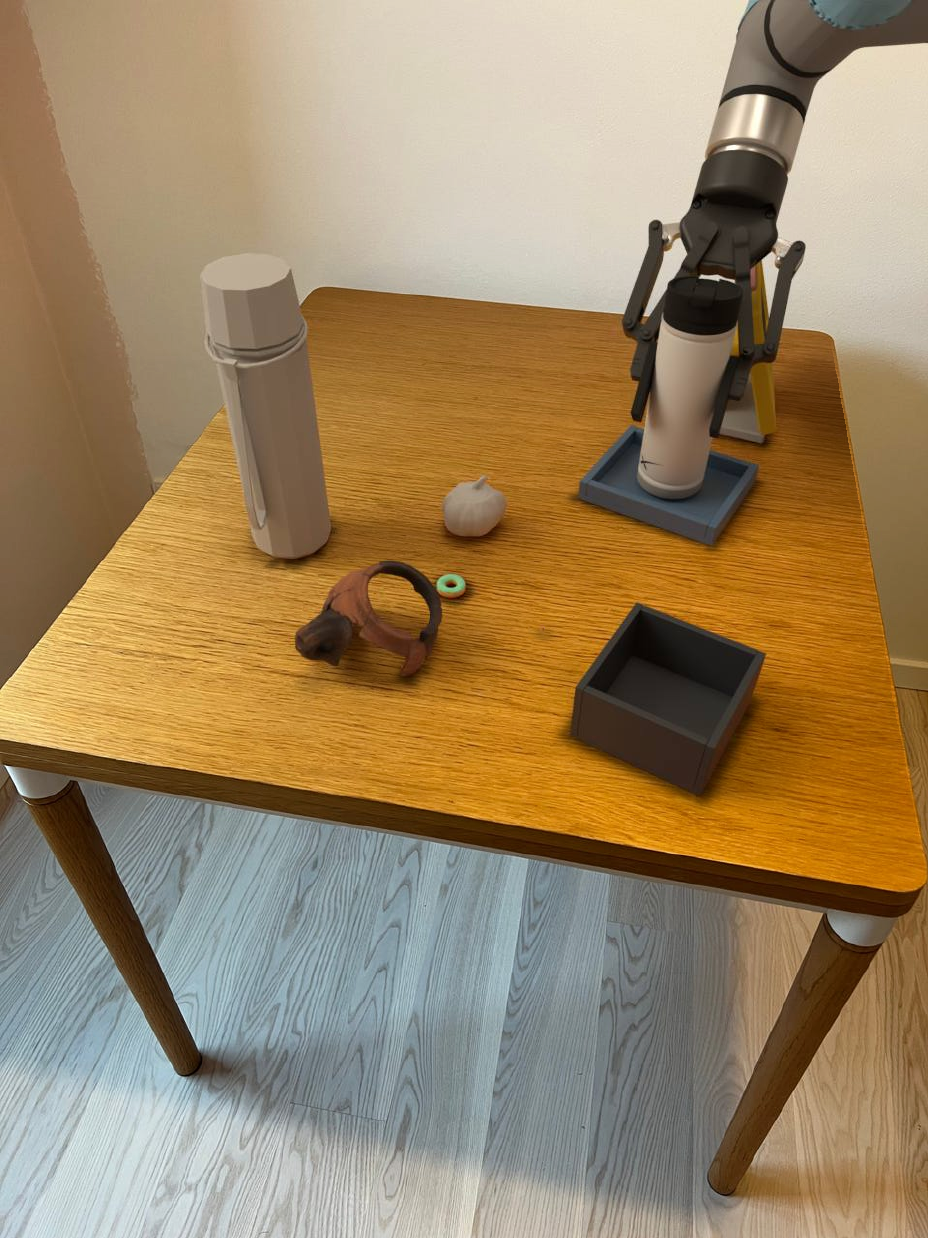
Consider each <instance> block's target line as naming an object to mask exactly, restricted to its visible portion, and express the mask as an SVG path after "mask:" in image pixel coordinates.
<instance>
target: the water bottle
mask: <svg viewBox="0 0 928 1238" xmlns="http://www.w3.org/2000/svg"><path fill="white" fill-rule="evenodd" d="M199 277H200V287H201V297H202V305H203V314H204V315H203V316H204V325H205V331H206V333H205V337H204V340H203V341H204V343H203V344H204V346H205V347H204V348H205V350H206V353H207V354H208V356H210V358H211V359H212V360H213V361H214V362H215V365H216V370H217V374H218V379H219V383H220V389H221V393H222V398H223V403H224V408H225V412H226V416H227V422H228V426H229V431H230V436H231V441H232V446H233V450H234V455H235V460H236V465H237V470H238V474H239V479H240V485H241V489H242V494H243V499H244V505H245V510H246V513H247V517H248V522H249V527H250V531H251V537H252V539H253V541H254V543H255V545H256V547H257V549H258V550H259V551H261V552H263V553H264V554H267V555H270V556H271V557H274V558H276V559H289V560H296V559H300V558H303V557H307V556H309V555H310V556H311V555H313V554H314V553H315V552H317V551H318V550H320V548H322V547H323V546H324V545H325V544H326V543H328V540H329V537H330V534H331V531H332V523H331V514H330V508H329V501H328V500H329V499H328V492H327V486H326V485H327V483H326V477H325V470H324V462H323V455H322V447H321V439H320V432H319V425H318V424H319V423H318V416H317V408H316V401H315V394H314V385H313V378H312V370H311V365H310V364H311V363H310V355H309V348H308V341H307V336H308V330H309V326H308V324H307V321H306V319H305V317H304V316H303V313H302V309H301V305H300V301H299V297H298V293H297V289H296V284H295V281H294V276H293V271H292V268H291V266H290V265H289V263H288V262H287V260H285V258H282V257H279V256H276V255H272V254H270V253H253V252H252V253H251V252H245V253H240V254H233V255H228V256H227V255H226V256H222V257H220V258H219V259H217V260H215V261H211V262H210V263H208V264H206V265H205V267H204V268H203V270H201V272H200V274H199ZM210 340H211V342H212V348H211V344H210Z"/></svg>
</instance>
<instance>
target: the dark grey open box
mask: <svg viewBox="0 0 928 1238" xmlns="http://www.w3.org/2000/svg"><path fill="white" fill-rule="evenodd" d="M766 656H767V653H766V652H764V651H761V650H758V649H756V648H753V647H751V646H748V645H746V644H743V643H741V642H738V641H737V640H733V639H730V638H729V637H726V636H723V635H721V634H718V633H716V632H713V631H711V630H708V629H706V628H703V627H701V626H698V625H695V624H693V623H690V622H688V621H684V619H683V620H682V619H680V618H677V617H675V616H672V615H669V614H667V613H664V612H662V611H660V610H657V609H654V608H652V607H650V606H647V605H644V604H642V603H639V602H636V603H635V604H634V605H633V607H632V608H631V609H630V611H629V612H628V614H627V615H626V616H625V618H624V619H623V621H622V622H621V623H620V624H619V626H618V627H617V629H616V630H615V632H614V633H613V635H612V636H611V637H610V638H609V640H608V641H607V642H606V644H605V645H604V646H603V648H602V650H601V651H600V652H599V654H598V655H597V657H595V659H594V661H593V662H592V663H591V664H590V666H589V668H588V669H587V670H586V672H584V674H583V676H582V677H581V679H580V680H579V682H578V683H577V684H576V686H575V690H574V698H573V705H572V714H571V722H570V730H569V736H570V737H572V738H574V739H576V740H579V741H581V742H582V743H585V744H586V745H589V746H591V747H594V748H595V749H597V750H599V751H602V752H604V753H606V754H607V755H611V756H612V757H614V758H617V759H619V760H621V761H623V762H625V763H626V764H630V765H632V766H634V767H636V768H638V769H641V770H642V771H643V772H647V773H649V774H651V775H653V776H655V777H658V778H660V779H662V780H664V781H666V782H668V783H670V784H672V785H674V786H677V787H679V788H681V789H683V790H684V791H687V792H689V793H691V794H693V795H696V796H698V797H701V796H702V795H703V793H704V791H705V789H706V787H707V785H708V783H709V782H710V779H711V778H712V776H713V774H714V772H715V770H716V768H717V766H718V764H719V763H720V761H721V758H722V757H723V755H724V753H725V751H726V749H727V747H728V745H729V744H730V742H731V740H732V738H733V736H734V734H735V732H736V730H737V729H738V727H739V725H740V723H741V721H742V720H743V717H744V715H745V713H746V712H747V709H748V708H749V706H750V704H751V702H752V699H753V696H754V692H755V689H756V686H757V684H758V680H759V677H760V675H761V671H762V668H763V666H764V663H765V660H766Z"/></svg>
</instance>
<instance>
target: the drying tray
mask: <svg viewBox="0 0 928 1238" xmlns="http://www.w3.org/2000/svg"><path fill="white" fill-rule="evenodd" d="M643 434H644V428H642V427H638V426H636V425H632V424H631V425H629V427H628V428H627V429H626V430H625V431H624V432H623V433H622V435H621V436H619V437H618V438H617V440H616V441H615V442H614V443H613V444H612V445H611V446H610V447H609V449H607V450H606V451H605V453H604V454H603V455H602V456H601V457H600V459H598V460H597V461H596V462H595V464H594V465H593V466H592V467H591V468H590V469H589V471H587V473H586V474H585V475H584V476H583V477H582V478H581V479H580V480H579V487H578V496H577V498H578V500H581V501H584V502H586V503H588V504H589V503H590V504H593V505H595V506H598V507H601V508H603V509H607V510H608V511H612V512H614V513H618V514H620V515H623V516H625V517H629V518H632V519H635V520H637V521H640V522H643V523H645V524H648V525H651V526H654V527H657V528H659V529H662V530H665V531H668V532H671V533H674V534H677V535H679V536H683V537H685V538H688V539H691V540H694V541H696V542H699V543H701V544H705V545H706V546H711V547H713V545H714V544H715V542H716V541H717V540H718V538H719V537H720V535H721V533H722V531H723V530H724V529H725V527H726V526H727V524H728V523H729V522H730V520H731V519H732V517H733V516H734V514H735V513H736V511H737V510H738V508H739V507H740V505H742V502H743V501H744V500H745V498H746V496H747V495H748V494H749V492H750V491H751V489H752V488H753V486H754V485H755V484H756V480H757V477H758V472H759V469H760V465H759V464H757V463H754V462H751V461H747V460H744V459H742V458H738V457H735V456H731V455H728V454H725V453H721V452H719V451H715V450H713V449H710V451H709V456H708V460H707V465H706V470H705V472H704V479H703V483H702V486H701V489H700V490H699V491H698V492H697V493H695V494H694V495H692V496H690V497H687V498H682V499H666V498H661V497H658V496H655V495H652V494H650V493H649V492H647V491H646V490H644V489H643V488H642V487H641V486H640V484H639V482H638V480H637V472H638V466H639V460H640V453H641V447H642V440H643Z"/></svg>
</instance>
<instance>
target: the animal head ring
mask: <svg viewBox="0 0 928 1238" xmlns="http://www.w3.org/2000/svg"><path fill="white" fill-rule="evenodd" d="M378 575H391V576H396V577H399V578H402V579H403V580H404V579H405V580H406V581H408V582H409V583H410V584H411V585H412V587H413V591H414V592H415V593H417V594H418V595H420V596H421V598H422V599H423V600H424V602H425V604H426V605H427V608H428V611H429V617H428V618H429V619H428V623H427V624H426V626H424V627H423V628H421V629H420V631H419V635H418V638H417V639H414V637H413V634H412V632H411V631H408V630H404V629H401V628H396V627H394V626H393V625H390V624H389V623H388V622H387V621H385V620H384V619H383V618H382V617H381V616H380V615H379V614H378V613H377V612H376V611H375V610H374V608H373V606H372V603H371V601H370V597H369V583H370V581H371V580H372V578H373V577H375V576H378ZM439 595H440V594H439V593H438V591H437V588H436V587H435V586H434V584H433V583H432V581H431V580H430V579H429V577H427V576H426V575H425V574H424V573H422V571H420V570H418V569H417V568H416V567H413V566H412V565H411V564H408V563H405V562H404V561H400V560H399V561H398V560H392V559H390V560H389V559H388V560H381V561H379V562H376V563H373V564H370V565H369V566H368V567H367V568H361V569H356V570H353V571H351V572H349V573H347V574H346V575H345V576H344V575H343V577H341V579H339V580H338V581H337V582H336V583H335V584H334V585H333V586H332V587H331V589H330V590H329V591H328V595H327V596H326V598H325V600H324V603H323V606H322V609H321V611H320V614H317V615H316V616H315V618H313V619H311V620H310V621H309V622H308V623H306V624H305V625H302V626H301V627H300V628H298V629H297V631H296V632H295V634H294V646H295V647H294V648H295V650H296V652H298V653H299V654H300V655H301V657H302V658H304V659H306V660H309V661H315V662H316V661H318V662H319V661H323V662H324V663H326V664H328V665H329V666H331V667H338V666H339V665H340V660H341V657H342V655H343V654H344V652H345V650H347V649H348V648H349V647H350V645H352V641H353V638H354V634H355V626H354V625H357V626H358V627H360V628H361V629H360V631H359V633H358V636H359V637H360V638H361V639H363V640H365V641H367V642H369V643H370V644H373V645H374V646H376V647H378V648H381V649H383V650H387V651H388V652H389V653H392V654H396V655H399V656H404V657H405V658H404V663H403V665H402V667H401V668H400V670H399V674H400V675H401V677H406V676H409V675H412V674H414V673H416V672H417V670H418V669H419V668H420V667H421V666H422V665H423V662H424V661H425V660H427V659H428V658H429V657H430V656H431V654H432V651H433V649H434V647H435V644H436V641H437V639H438V635H439V627H440V626H441V623H442V620H443V608H442V602H441V597H440V596H439Z"/></svg>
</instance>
